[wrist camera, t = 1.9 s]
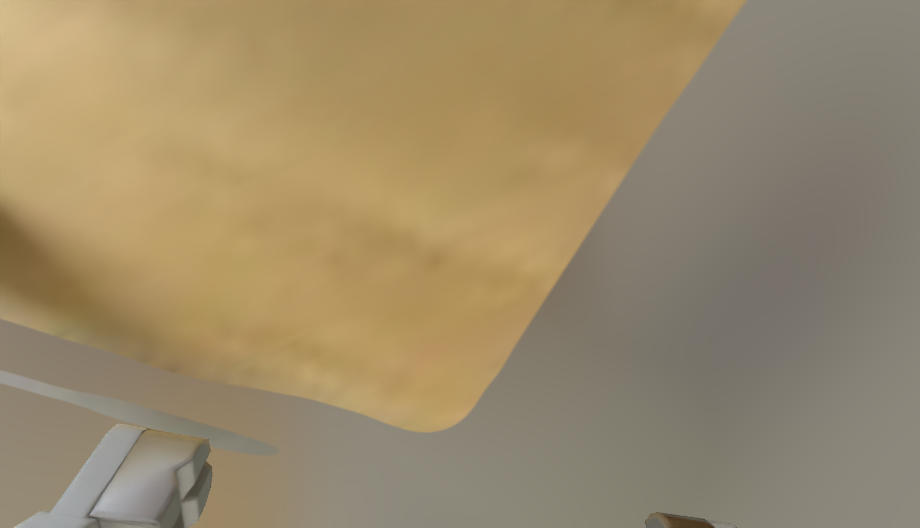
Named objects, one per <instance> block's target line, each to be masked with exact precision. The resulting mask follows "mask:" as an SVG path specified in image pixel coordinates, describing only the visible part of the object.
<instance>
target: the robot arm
mask: <svg viewBox="0 0 920 528" xmlns="http://www.w3.org/2000/svg"><path fill="white" fill-rule="evenodd" d="M209 453H210V444H209V439H204V438H198V437H192V436H187V435H181V434H175V433H169V432H164V431H158V430H152V429H149V428H143V427H136V426H130V425H124V424H117V425H116V426H114V427H113V428H112V429H111V430H109V432H107V434H106V435H105V436H104V438H103V439H102V441H101V442H100V443H99V445H98V446H97V448H96V449H95V450H94V452H93V453H92V455H91V456H90V457H89V459H88V461H87V462H86V463H85V465H84V466H83V467H82V469H81V470H80V472H79V473H78V474H77V476H76V478H75V479H74V480H73V482H72V483H71V484H70V486H69V487H68V489H67V490H66V491H65V493H64V494H63V496H62V497H61V498H60V500H59V501H58V503H57V504H56V506H55V507H54V508H53V510H52V511H51V512H49V511H40V512H38V513H37V514H35V515H34V516H32V517H30V518H29V519H27V520H25V521H24V522H22V523H20V524H19V525H17V526H16V527H14V528H189V527H190V526H191V525H193V524H194V523H195V522H197V521H198V520H199V517H200V515H201V513H202V511H203V508H204V506H205V504H206V501H207V498H208V494H209V491H210V488H211V481H212V466H211V465H210V464H208V463H207V462H206V459H207V457H208V455H209ZM645 524H646V528H737V527H736V526H735V525H732V524H729V523H722V522H715V521H709V520H705V519H701V518H693V517H686V516H680V515H672V514H666V513H659V512H656V513H652V514H650V516H649V517H648V518H647V519H646V521H645Z"/></svg>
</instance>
